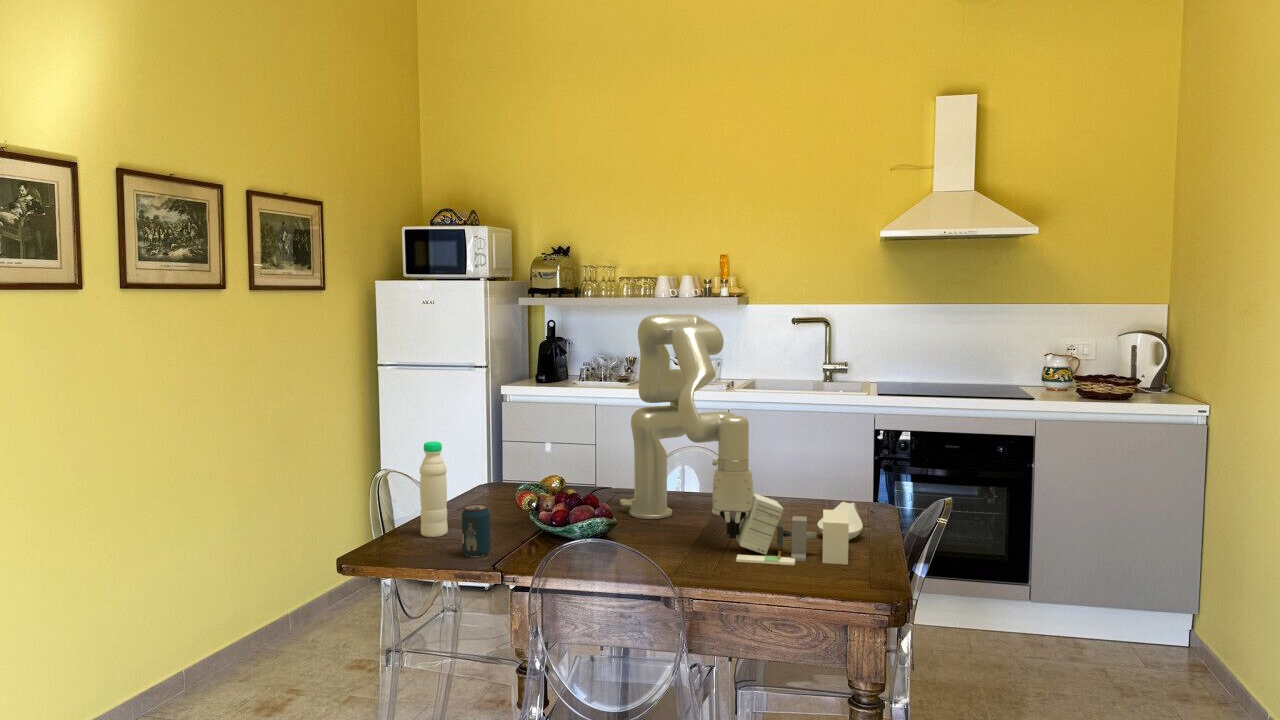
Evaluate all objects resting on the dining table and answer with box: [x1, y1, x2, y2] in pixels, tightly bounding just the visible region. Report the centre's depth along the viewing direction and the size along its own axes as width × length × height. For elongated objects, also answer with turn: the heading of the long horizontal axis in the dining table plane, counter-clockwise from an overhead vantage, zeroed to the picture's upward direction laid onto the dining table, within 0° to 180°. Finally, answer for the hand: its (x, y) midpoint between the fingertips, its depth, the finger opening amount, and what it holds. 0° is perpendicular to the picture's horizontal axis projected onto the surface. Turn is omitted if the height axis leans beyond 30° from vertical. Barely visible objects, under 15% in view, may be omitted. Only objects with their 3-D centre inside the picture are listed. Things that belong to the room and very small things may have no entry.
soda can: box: [461, 503, 492, 557], centre depth 227 cm, size 7×7×12 cm
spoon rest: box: [816, 501, 864, 541], centre depth 248 cm, size 24×12×7 cm, turn 159°
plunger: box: [776, 519, 817, 558], centre depth 225 cm, size 10×10×6 cm
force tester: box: [735, 509, 849, 566], centre depth 226 cm, size 26×16×10 cm, turn 78°
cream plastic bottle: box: [419, 440, 449, 538], centre depth 244 cm, size 7×7×25 cm
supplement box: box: [735, 492, 784, 556], centre depth 229 cm, size 7×7×13 cm
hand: (733, 537), depth 230 cm, fingers closed
